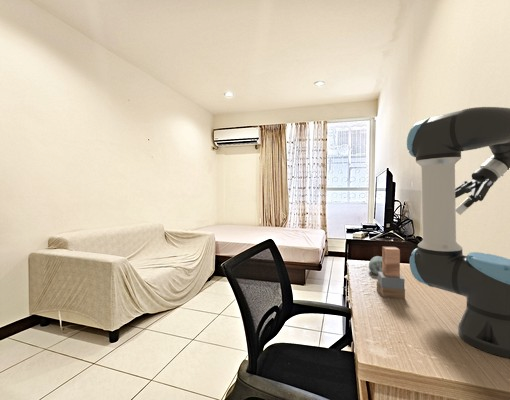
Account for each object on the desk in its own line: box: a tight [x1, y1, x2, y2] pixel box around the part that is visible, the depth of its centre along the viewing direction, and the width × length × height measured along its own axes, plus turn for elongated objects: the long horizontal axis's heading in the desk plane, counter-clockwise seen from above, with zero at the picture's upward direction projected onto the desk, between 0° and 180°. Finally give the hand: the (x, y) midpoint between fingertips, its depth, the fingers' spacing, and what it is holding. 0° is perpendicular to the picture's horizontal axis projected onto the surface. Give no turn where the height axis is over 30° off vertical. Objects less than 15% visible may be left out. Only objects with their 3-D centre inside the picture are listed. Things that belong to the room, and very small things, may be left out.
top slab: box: [377, 272, 405, 289], centre depth 105 cm, size 8×8×4 cm
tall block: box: [381, 246, 401, 277], centre depth 105 cm, size 5×5×11 cm
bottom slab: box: [376, 280, 406, 300], centre depth 105 cm, size 8×8×4 cm
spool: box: [368, 255, 382, 276], centre depth 133 cm, size 14×10×10 cm
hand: (446, 211), depth 104 cm, fingers open, 13 cm apart
